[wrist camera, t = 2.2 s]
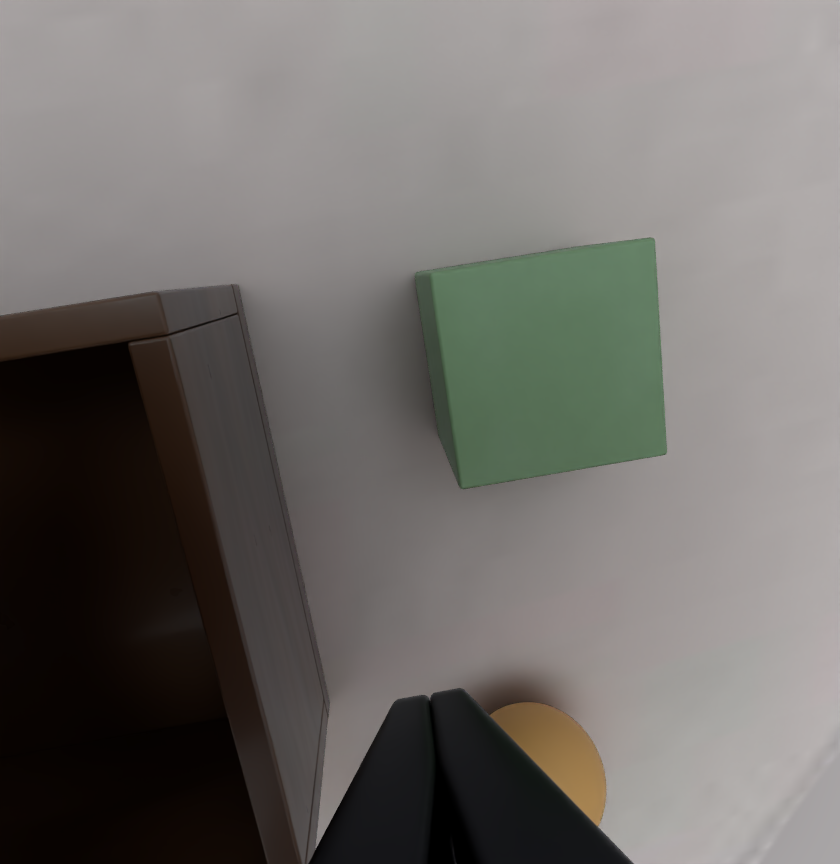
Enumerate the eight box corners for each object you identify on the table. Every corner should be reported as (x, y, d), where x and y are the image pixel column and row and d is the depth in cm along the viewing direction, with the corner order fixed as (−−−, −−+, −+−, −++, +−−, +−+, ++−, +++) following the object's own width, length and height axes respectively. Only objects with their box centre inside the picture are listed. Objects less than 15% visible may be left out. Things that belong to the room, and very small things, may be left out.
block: (596, 411, 18) (668, 455, 13) (438, 437, 17) (459, 490, 13) (582, 245, 16) (656, 236, 12) (413, 272, 16) (428, 272, 12)
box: (238, 283, 16) (157, 291, 10) (330, 703, 19) (311, 901, 13) (-184, 350, 16) (-529, 398, 10) (-20, 766, 19) (-204, 998, 13)
